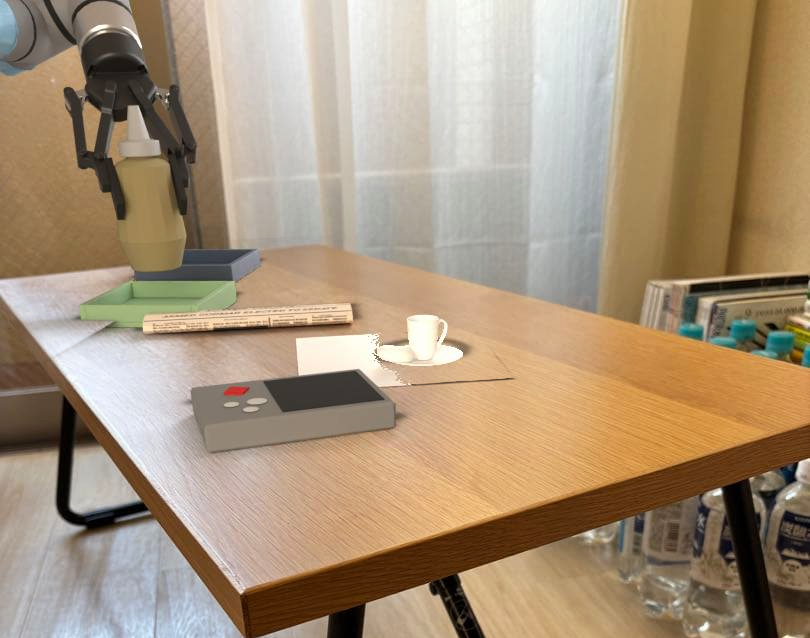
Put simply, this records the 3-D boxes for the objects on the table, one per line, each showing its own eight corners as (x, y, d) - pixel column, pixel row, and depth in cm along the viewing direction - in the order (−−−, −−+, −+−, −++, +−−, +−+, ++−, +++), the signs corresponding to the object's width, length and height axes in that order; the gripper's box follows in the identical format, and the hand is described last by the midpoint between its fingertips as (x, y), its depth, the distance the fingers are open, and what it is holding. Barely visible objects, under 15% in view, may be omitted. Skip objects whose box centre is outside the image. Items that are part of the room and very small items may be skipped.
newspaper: (144, 336, 100) (141, 320, 100) (151, 322, 107) (149, 307, 106) (353, 325, 103) (352, 310, 102) (348, 312, 109) (347, 297, 108)
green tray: (82, 327, 106) (78, 304, 105) (131, 300, 119) (127, 281, 118) (200, 327, 104) (197, 305, 103) (237, 301, 117) (234, 281, 116)
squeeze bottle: (199, 262, 112) (179, 104, 104) (178, 275, 105) (155, 105, 97) (137, 263, 113) (112, 105, 105) (112, 275, 106) (84, 107, 98)
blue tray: (136, 284, 130) (133, 265, 128) (171, 266, 143) (169, 249, 141) (233, 284, 128) (231, 265, 127) (260, 265, 141) (259, 248, 140)
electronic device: (189, 385, 75) (360, 365, 79) (193, 412, 76) (361, 392, 80) (203, 423, 66) (396, 399, 70) (208, 454, 68) (397, 429, 71)
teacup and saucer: (380, 373, 86) (378, 330, 84) (372, 351, 93) (370, 312, 91) (470, 367, 87) (470, 325, 85) (455, 347, 94) (455, 307, 92)
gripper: (190, 78, 116) (232, 224, 110) (31, 81, 109) (67, 237, 103) (192, 28, 109) (238, 181, 103) (23, 29, 103) (61, 192, 96)
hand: (152, 209), depth 103 cm, fingers closed on squeeze bottle, 6 cm apart
